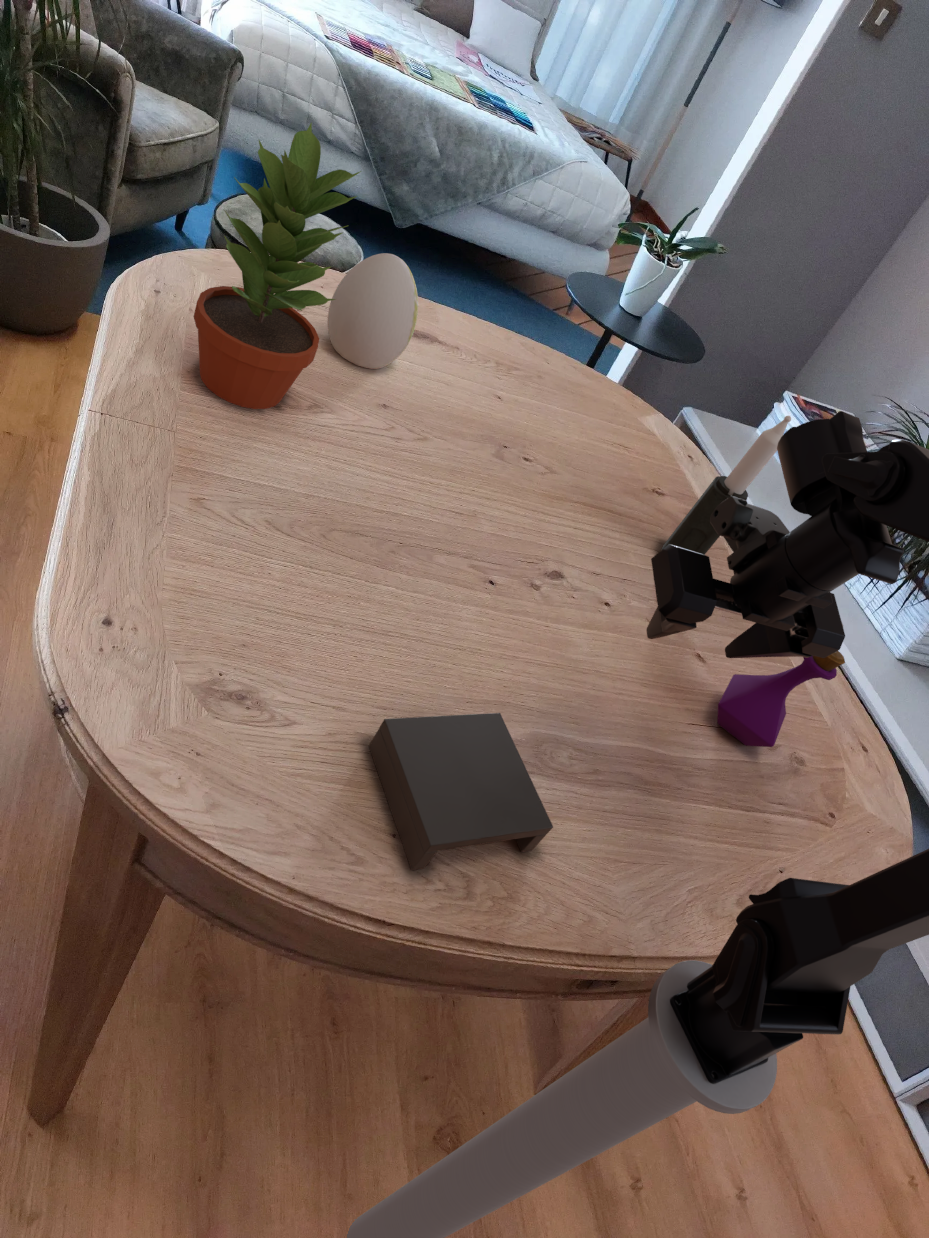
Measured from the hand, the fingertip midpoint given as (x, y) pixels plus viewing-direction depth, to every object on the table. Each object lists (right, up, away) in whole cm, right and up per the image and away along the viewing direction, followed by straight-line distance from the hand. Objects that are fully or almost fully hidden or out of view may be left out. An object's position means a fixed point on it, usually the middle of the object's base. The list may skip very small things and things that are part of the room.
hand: (688, 643), depth 79 cm
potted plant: (-49, +31, +25) cm, 63 cm away
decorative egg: (-37, +41, +44) cm, 71 cm away
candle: (+9, +11, +42) cm, 44 cm away
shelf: (-22, -13, -6) cm, 27 cm away
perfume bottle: (+11, -10, +19) cm, 24 cm away
